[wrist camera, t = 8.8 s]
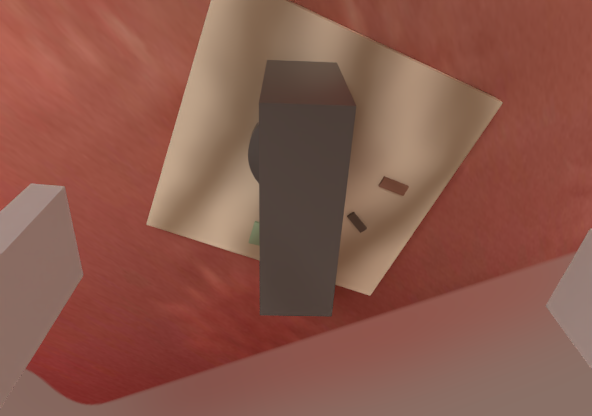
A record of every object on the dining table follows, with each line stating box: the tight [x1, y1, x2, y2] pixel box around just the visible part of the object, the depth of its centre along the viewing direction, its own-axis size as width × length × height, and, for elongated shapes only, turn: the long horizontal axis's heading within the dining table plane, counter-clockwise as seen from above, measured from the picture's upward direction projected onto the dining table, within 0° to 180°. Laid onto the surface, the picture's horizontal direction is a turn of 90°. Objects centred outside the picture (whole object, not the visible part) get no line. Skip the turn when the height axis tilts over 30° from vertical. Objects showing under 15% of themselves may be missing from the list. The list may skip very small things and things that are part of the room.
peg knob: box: [248, 60, 356, 316], centre depth 25 cm, size 15×6×9 cm, turn 178°
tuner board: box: [146, 0, 503, 296], centre depth 30 cm, size 19×18×1 cm
